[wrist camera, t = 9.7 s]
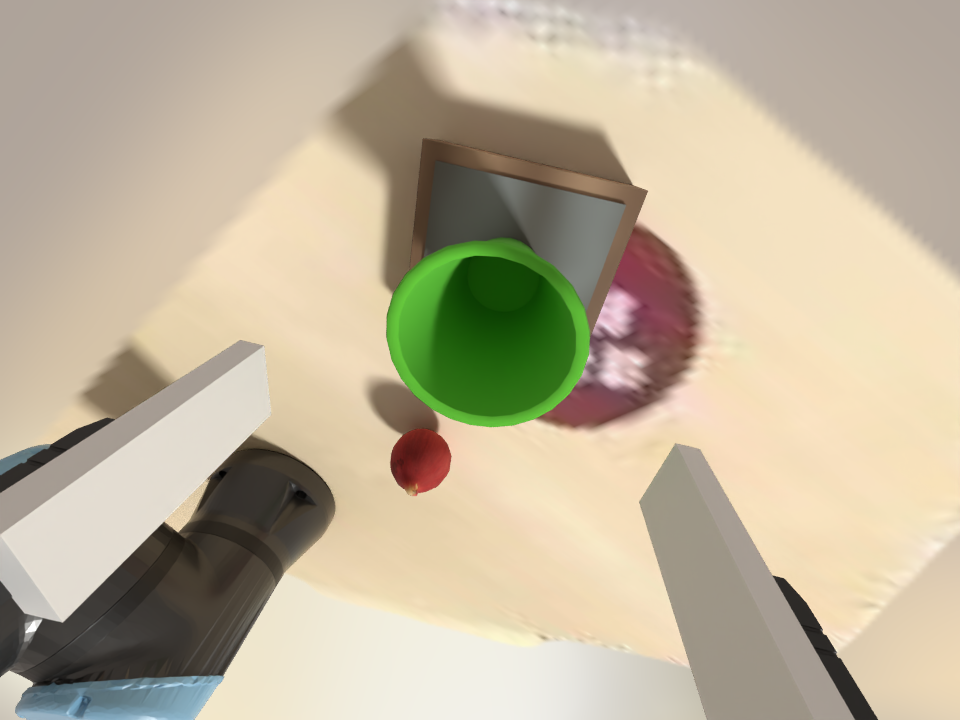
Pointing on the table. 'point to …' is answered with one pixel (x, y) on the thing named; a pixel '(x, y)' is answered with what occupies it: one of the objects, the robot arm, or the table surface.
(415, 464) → the onion
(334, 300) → the table surface
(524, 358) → the cup
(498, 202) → the flat stove
